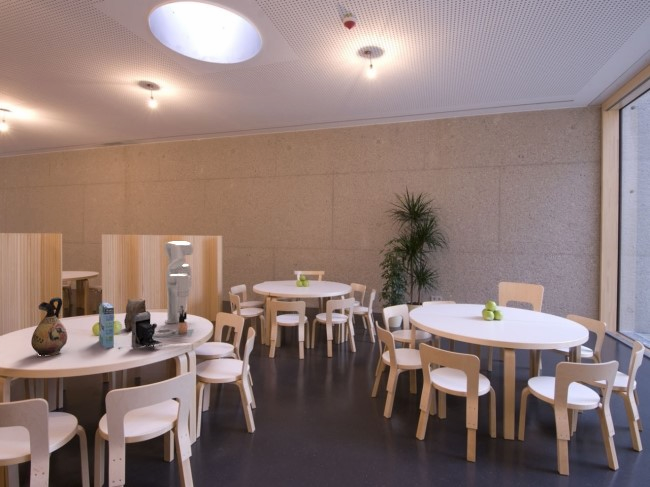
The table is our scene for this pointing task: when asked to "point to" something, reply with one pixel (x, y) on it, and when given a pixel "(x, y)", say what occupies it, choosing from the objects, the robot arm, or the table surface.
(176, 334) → the board
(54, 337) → the ceramic jug
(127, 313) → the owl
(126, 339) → the table surface
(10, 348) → the table surface
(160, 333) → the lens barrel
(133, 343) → the vintage camera
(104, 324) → the gum box
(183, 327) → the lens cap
